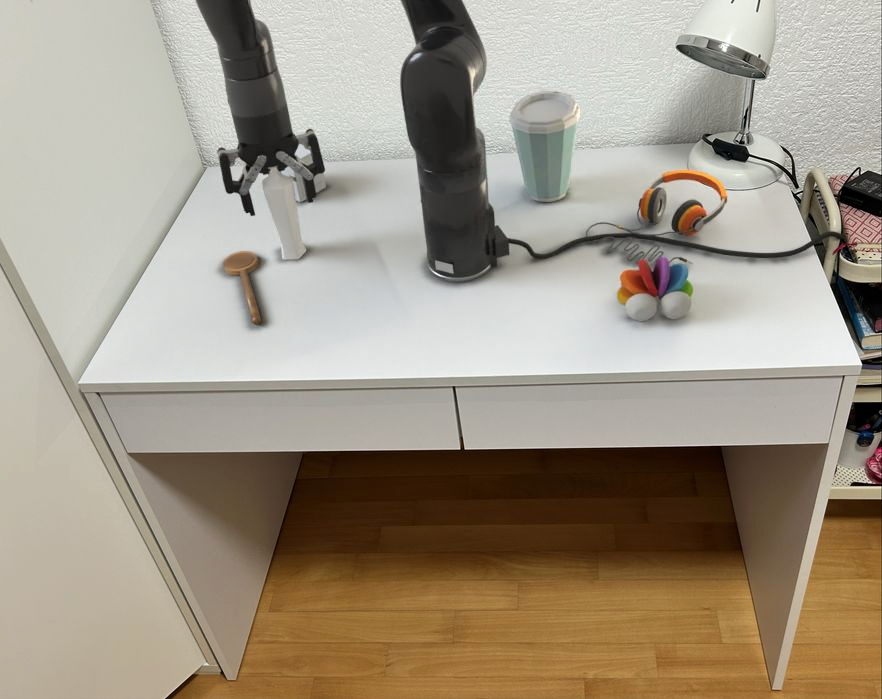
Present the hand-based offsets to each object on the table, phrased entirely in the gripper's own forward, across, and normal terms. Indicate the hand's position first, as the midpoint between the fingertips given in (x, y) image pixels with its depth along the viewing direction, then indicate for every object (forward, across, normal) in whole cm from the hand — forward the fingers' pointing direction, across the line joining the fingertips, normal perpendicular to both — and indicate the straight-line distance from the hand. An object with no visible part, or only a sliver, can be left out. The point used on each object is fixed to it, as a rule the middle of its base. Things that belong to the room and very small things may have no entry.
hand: (281, 206), depth 127 cm
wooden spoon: (+8, -8, -7) cm, 13 cm away
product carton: (+8, +5, +18) cm, 20 cm away
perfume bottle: (+8, 0, 0) cm, 8 cm away
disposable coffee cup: (+8, +41, -1) cm, 42 cm away
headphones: (+7, +52, -19) cm, 56 cm away
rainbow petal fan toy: (+7, +42, -34) cm, 55 cm away
